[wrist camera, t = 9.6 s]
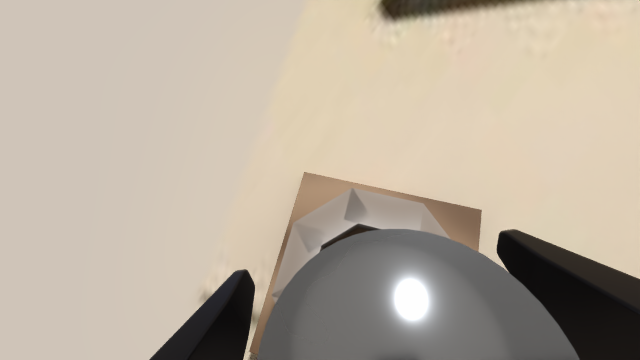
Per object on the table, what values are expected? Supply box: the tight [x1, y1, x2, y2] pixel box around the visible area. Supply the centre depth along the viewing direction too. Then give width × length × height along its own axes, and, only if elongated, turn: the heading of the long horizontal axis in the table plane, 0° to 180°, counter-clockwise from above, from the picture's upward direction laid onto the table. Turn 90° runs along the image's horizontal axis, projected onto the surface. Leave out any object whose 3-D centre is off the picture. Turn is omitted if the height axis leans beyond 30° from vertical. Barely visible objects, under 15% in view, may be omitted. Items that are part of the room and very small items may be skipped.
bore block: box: [249, 172, 482, 355], centre depth 13 cm, size 12×12×3 cm
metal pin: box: [257, 229, 580, 360], centre depth 8 cm, size 4×4×12 cm
